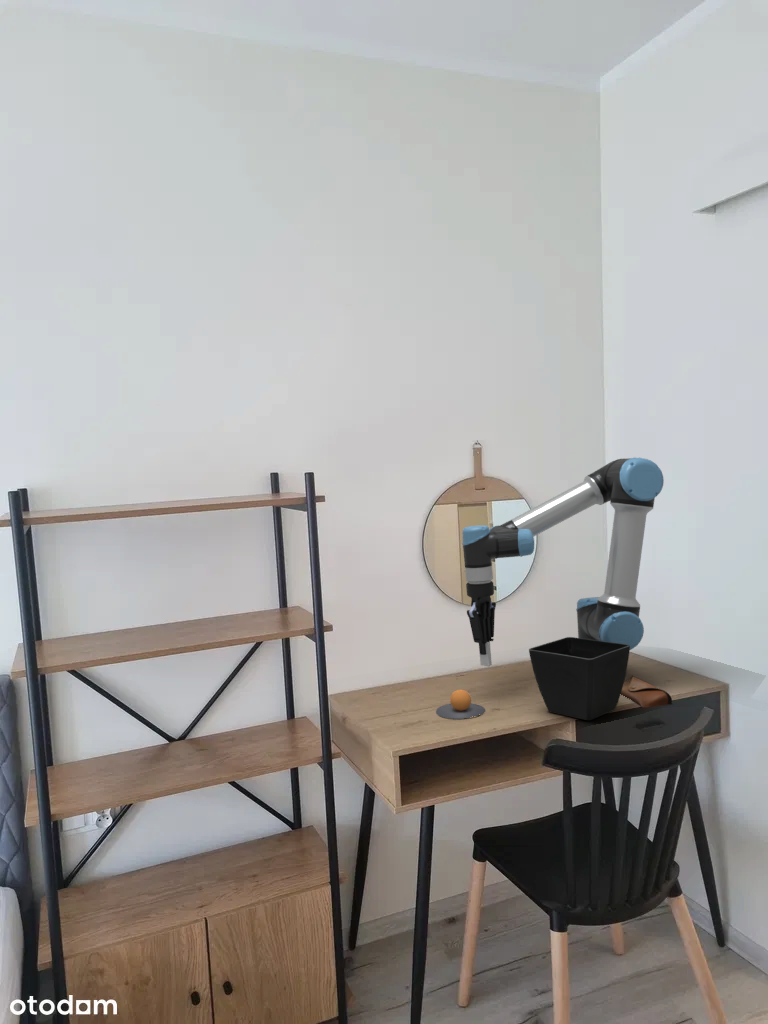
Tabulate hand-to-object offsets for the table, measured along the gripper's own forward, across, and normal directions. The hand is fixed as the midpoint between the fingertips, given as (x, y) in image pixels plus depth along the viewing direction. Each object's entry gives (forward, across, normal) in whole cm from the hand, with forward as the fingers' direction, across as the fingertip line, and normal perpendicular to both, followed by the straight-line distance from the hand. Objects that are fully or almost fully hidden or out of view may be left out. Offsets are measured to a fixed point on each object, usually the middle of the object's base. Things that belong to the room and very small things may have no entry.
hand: (486, 665), depth 212 cm
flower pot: (+10, +1, +27) cm, 29 cm away
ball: (+6, +14, -1) cm, 15 cm away
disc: (+9, +15, -1) cm, 17 cm away
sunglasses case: (+11, -17, +37) cm, 42 cm away
